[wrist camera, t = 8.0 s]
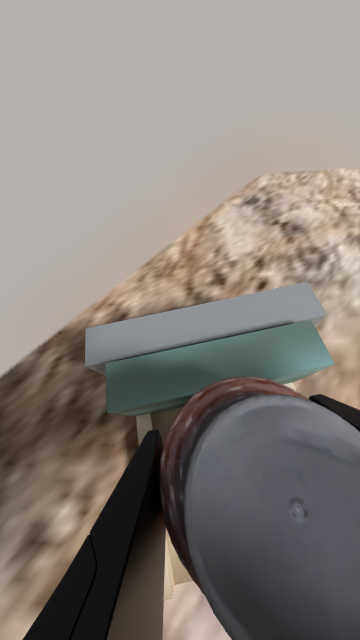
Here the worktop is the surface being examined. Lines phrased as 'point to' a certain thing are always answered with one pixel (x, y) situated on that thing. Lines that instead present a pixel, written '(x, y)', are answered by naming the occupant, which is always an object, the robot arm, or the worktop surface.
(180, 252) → the worktop surface
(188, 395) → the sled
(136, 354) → the backstop wall
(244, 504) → the supplement bottle
